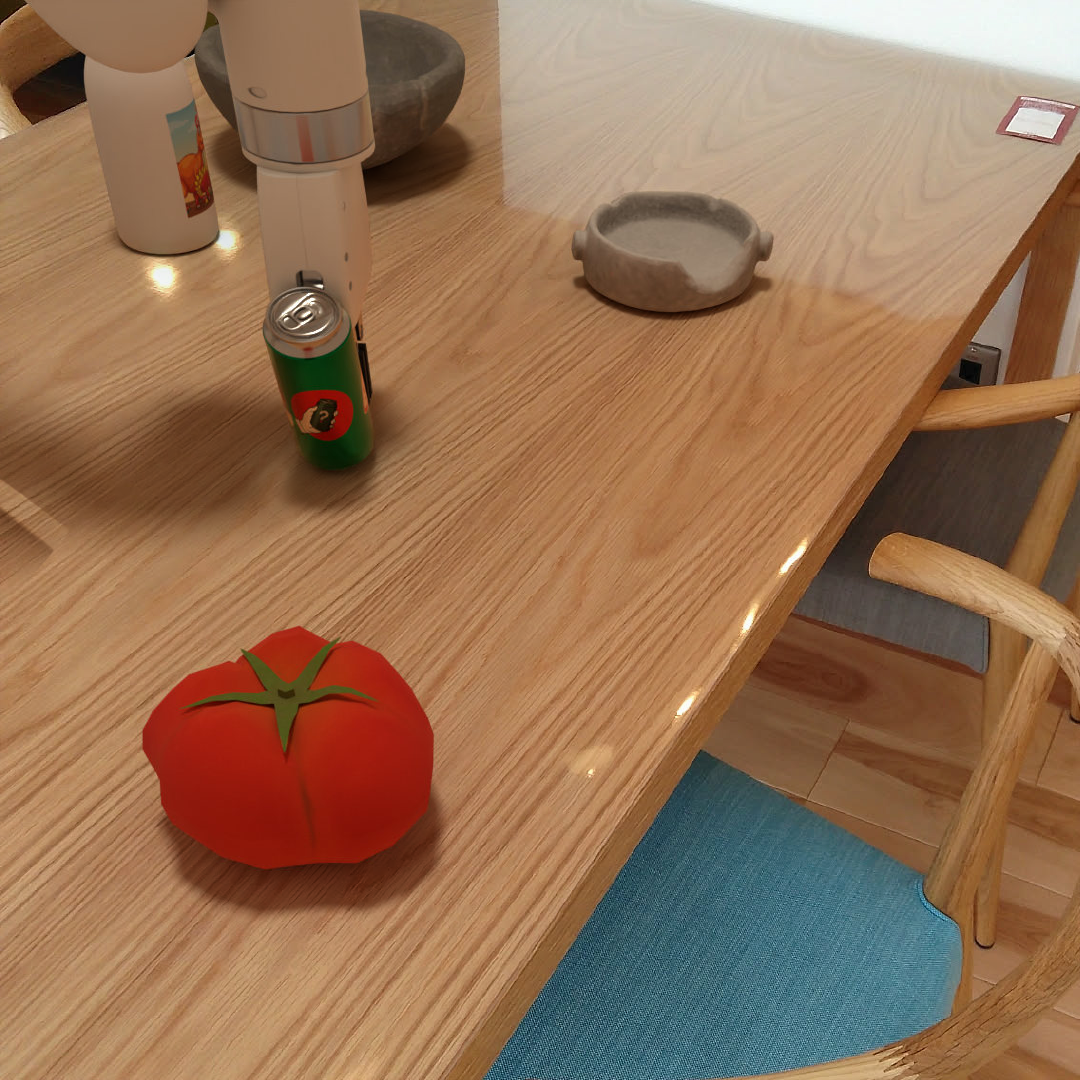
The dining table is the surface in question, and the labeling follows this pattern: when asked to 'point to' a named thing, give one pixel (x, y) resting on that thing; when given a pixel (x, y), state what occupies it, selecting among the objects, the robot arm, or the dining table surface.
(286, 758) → the tomato
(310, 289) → the soda can
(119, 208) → the milk bottle
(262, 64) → the robot arm
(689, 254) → the dish
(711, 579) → the dining table surface
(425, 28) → the bowl
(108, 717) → the dining table surface
